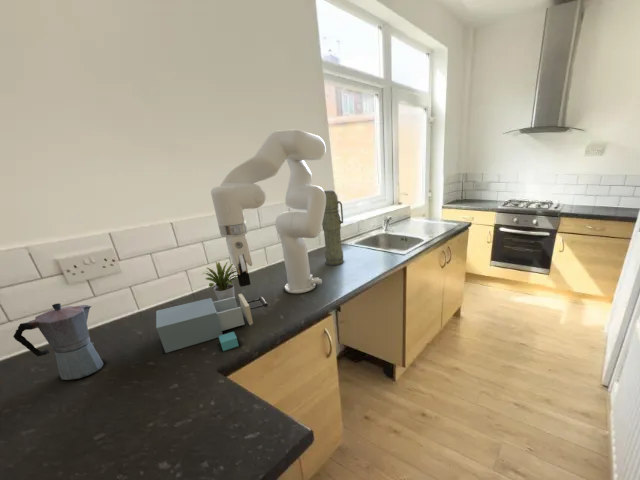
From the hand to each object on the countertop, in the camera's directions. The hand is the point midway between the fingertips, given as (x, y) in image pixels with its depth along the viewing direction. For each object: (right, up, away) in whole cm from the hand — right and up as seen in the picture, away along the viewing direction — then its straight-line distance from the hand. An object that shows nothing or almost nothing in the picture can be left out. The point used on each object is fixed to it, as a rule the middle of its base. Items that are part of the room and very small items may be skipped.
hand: (245, 284), depth 103 cm
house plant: (-15, -7, +19) cm, 25 cm away
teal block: (-2, -18, -7) cm, 20 cm away
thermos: (+20, +12, +59) cm, 63 cm away
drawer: (-5, -12, +5) cm, 14 cm away
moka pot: (-37, -24, -17) cm, 47 cm away
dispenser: (-16, -16, -1) cm, 23 cm away
